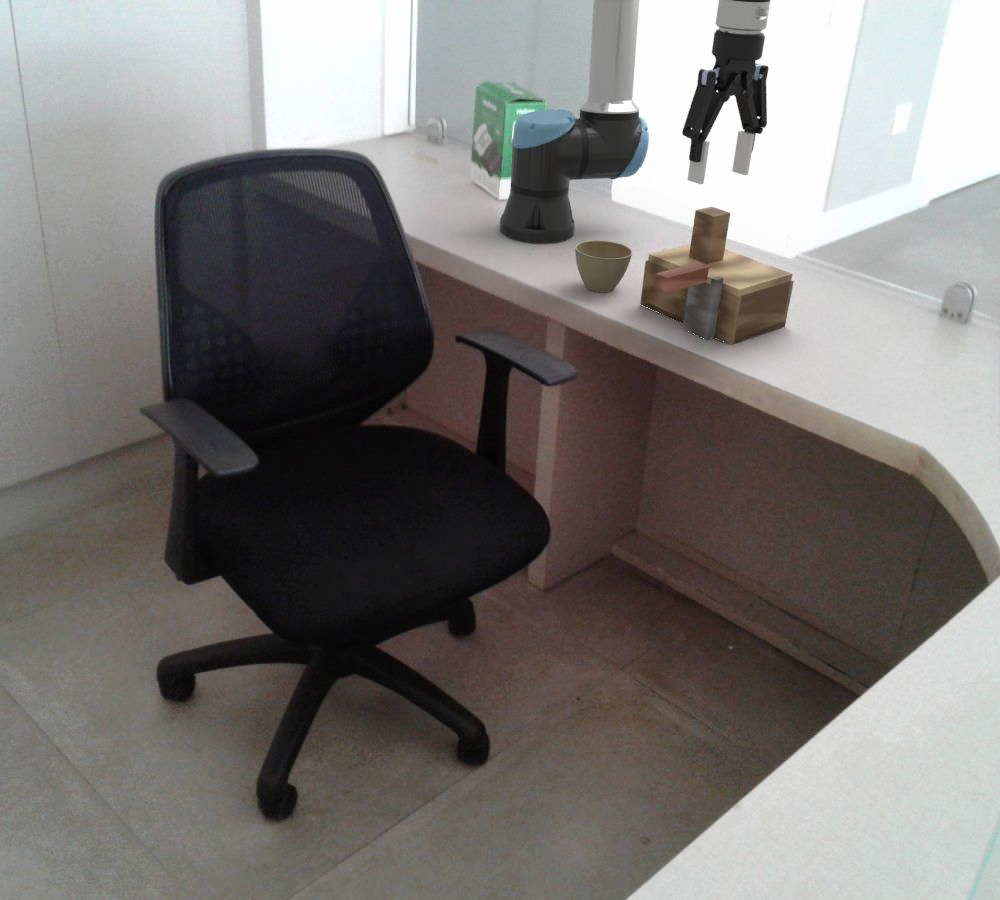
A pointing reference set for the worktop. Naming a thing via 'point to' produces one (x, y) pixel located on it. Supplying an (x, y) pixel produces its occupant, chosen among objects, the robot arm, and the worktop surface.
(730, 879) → the worktop surface
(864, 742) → the worktop surface
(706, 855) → the worktop surface
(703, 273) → the reddish brown rectangular block
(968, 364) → the worktop surface
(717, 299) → the brown wooden box
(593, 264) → the flower pot
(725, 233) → the wooden block with peg
